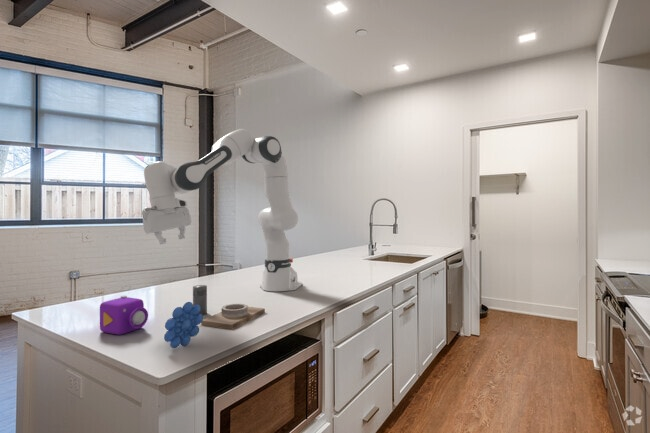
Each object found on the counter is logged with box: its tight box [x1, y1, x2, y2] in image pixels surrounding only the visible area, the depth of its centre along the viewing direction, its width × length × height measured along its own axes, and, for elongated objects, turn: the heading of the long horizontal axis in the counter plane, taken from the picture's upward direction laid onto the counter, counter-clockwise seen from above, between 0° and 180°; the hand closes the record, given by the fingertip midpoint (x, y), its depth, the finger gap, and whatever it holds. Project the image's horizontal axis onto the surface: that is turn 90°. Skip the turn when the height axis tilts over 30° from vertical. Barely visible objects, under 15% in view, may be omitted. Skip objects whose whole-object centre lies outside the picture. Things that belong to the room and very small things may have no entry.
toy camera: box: [99, 295, 149, 336], centre depth 113 cm, size 11×14×10 cm
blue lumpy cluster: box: [163, 301, 204, 349], centre depth 101 cm, size 12×7×12 cm, turn 144°
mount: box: [200, 303, 266, 330], centre depth 126 cm, size 20×12×4 cm, turn 159°
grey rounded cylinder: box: [192, 284, 208, 316], centre depth 131 cm, size 5×5×10 cm
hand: (173, 241), depth 136 cm, fingers open, 8 cm apart
